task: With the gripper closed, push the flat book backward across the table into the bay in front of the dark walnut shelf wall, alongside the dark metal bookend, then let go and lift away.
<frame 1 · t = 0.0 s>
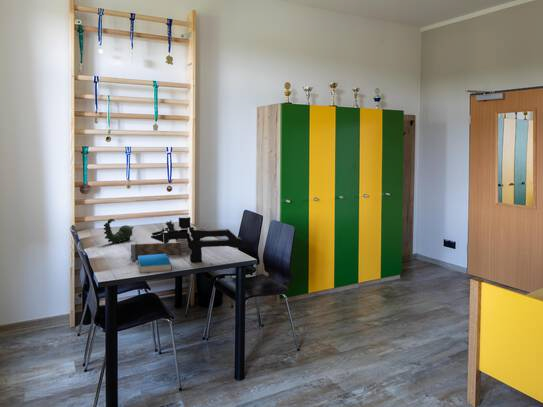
hand: (151, 235, 265), 17 cm above the table, tool horizontal, fingers open, 9 cm apart
toy figurine: (120, 242, 328), on the table
shelf wall: (156, 255, 286), on the table
can: (184, 251, 298), on the table
bookend: (134, 259, 277), on the table
book: (154, 266, 263), on the table
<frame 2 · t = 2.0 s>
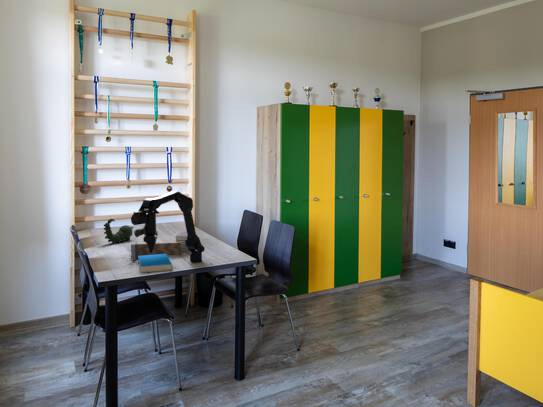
hand: (151, 251, 244), 12 cm above the table, tool pointing down, fingers open, 5 cm apart
nothing on the table moved.
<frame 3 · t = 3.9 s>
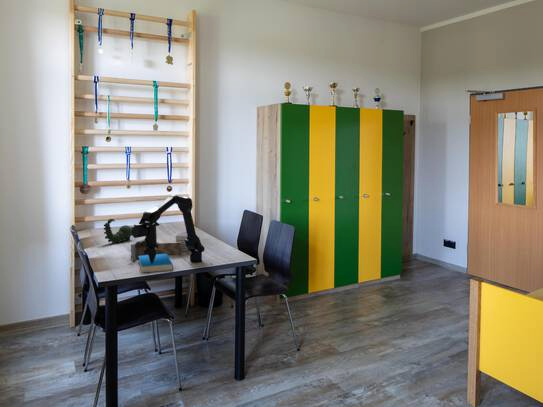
hand: (151, 263, 245), 6 cm above the table, tool pointing down, fingers closed
nothing on the table moved.
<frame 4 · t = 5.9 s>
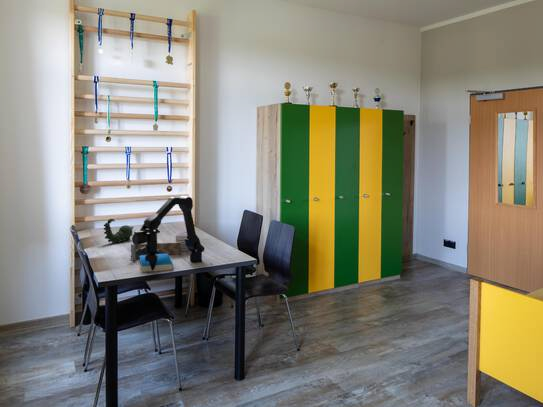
hand: (152, 270, 249), 1 cm above the table, tool pointing down, fingers closed
book: (156, 266, 263), on the table, touching gripper
everything else where it was.
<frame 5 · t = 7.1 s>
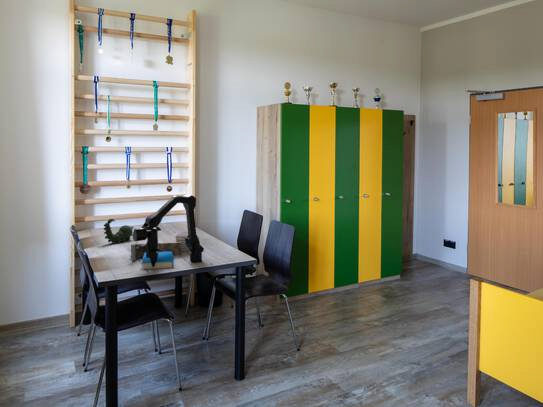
hand: (153, 266, 255), 1 cm above the table, tool pointing down, fingers closed
book: (158, 263, 269), on the table, touching gripper
everything else where it was.
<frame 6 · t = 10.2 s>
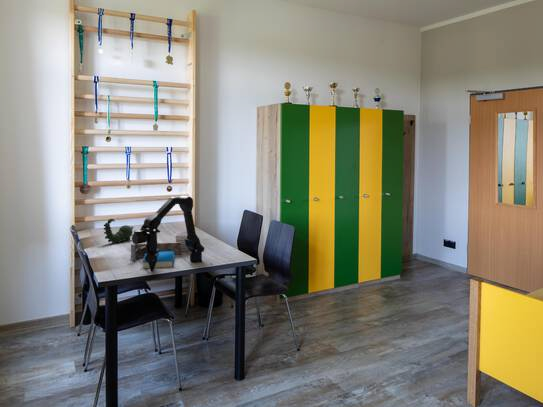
hand: (152, 269, 250), 1 cm above the table, tool pointing down, fingers open, 9 cm apart
book: (159, 262, 271), on the table
everything else where it was.
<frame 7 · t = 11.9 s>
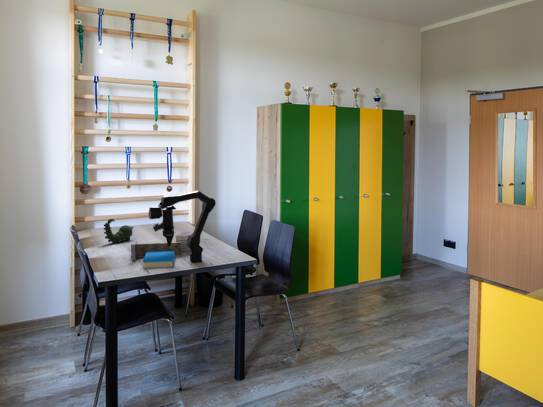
hand: (169, 244, 263), 12 cm above the table, tool pointing down, fingers open, 9 cm apart
nothing on the table moved.
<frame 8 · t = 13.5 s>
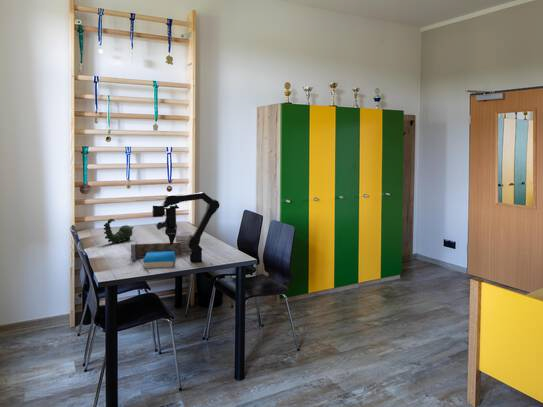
hand: (171, 243, 266), 12 cm above the table, tool pointing down, fingers open, 9 cm apart
nothing on the table moved.
at the end: book inside the target area (2.9 cm from its centre), on the table; book tilted 0°; book moved 8.5 cm from its start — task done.
